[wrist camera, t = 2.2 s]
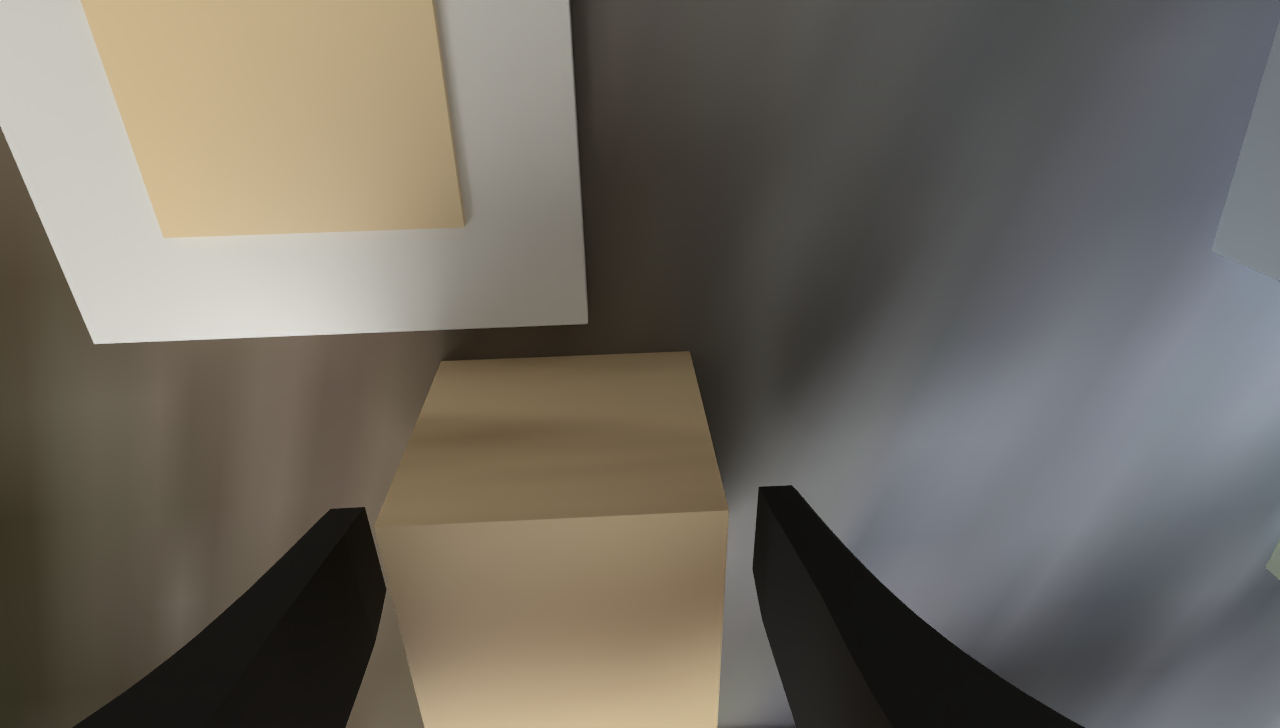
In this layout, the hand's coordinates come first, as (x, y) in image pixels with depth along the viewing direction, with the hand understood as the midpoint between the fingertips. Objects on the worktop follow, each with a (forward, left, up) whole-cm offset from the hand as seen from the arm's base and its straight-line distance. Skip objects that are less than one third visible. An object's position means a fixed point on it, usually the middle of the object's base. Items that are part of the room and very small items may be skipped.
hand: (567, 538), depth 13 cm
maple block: (0, 0, -3) cm, 3 cm away
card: (+8, +4, -3) cm, 9 cm away
